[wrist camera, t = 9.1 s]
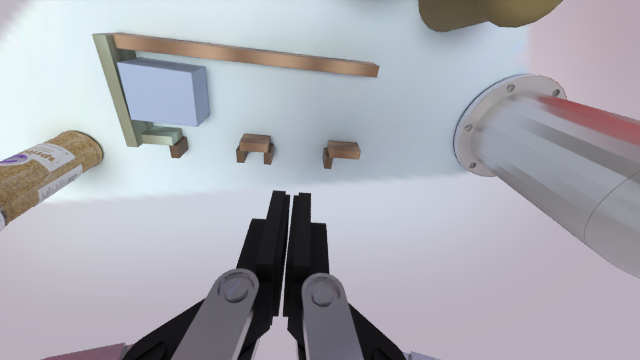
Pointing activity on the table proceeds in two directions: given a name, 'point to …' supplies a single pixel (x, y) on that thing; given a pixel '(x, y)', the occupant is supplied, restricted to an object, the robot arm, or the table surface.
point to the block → (165, 91)
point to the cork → (483, 12)
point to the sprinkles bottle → (43, 172)
